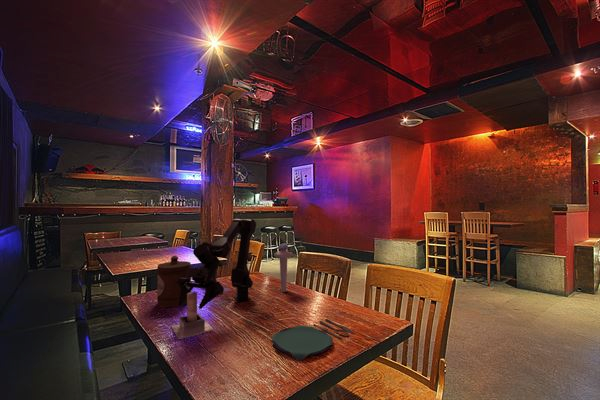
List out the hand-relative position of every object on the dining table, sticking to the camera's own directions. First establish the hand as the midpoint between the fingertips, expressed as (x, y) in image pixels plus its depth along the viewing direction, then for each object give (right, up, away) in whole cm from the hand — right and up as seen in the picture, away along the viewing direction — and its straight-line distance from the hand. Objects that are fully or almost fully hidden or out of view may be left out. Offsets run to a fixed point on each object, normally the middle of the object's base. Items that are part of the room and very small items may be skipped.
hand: (189, 306), depth 106 cm
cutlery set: (+46, -9, -6) cm, 47 cm away
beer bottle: (-11, -9, +60) cm, 62 cm away
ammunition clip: (+2, -10, +70) cm, 70 cm away
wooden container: (-19, -9, +31) cm, 37 cm away
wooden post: (0, -8, +1) cm, 8 cm away
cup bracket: (0, -9, +1) cm, 9 cm away
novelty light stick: (+32, -9, +47) cm, 57 cm away
